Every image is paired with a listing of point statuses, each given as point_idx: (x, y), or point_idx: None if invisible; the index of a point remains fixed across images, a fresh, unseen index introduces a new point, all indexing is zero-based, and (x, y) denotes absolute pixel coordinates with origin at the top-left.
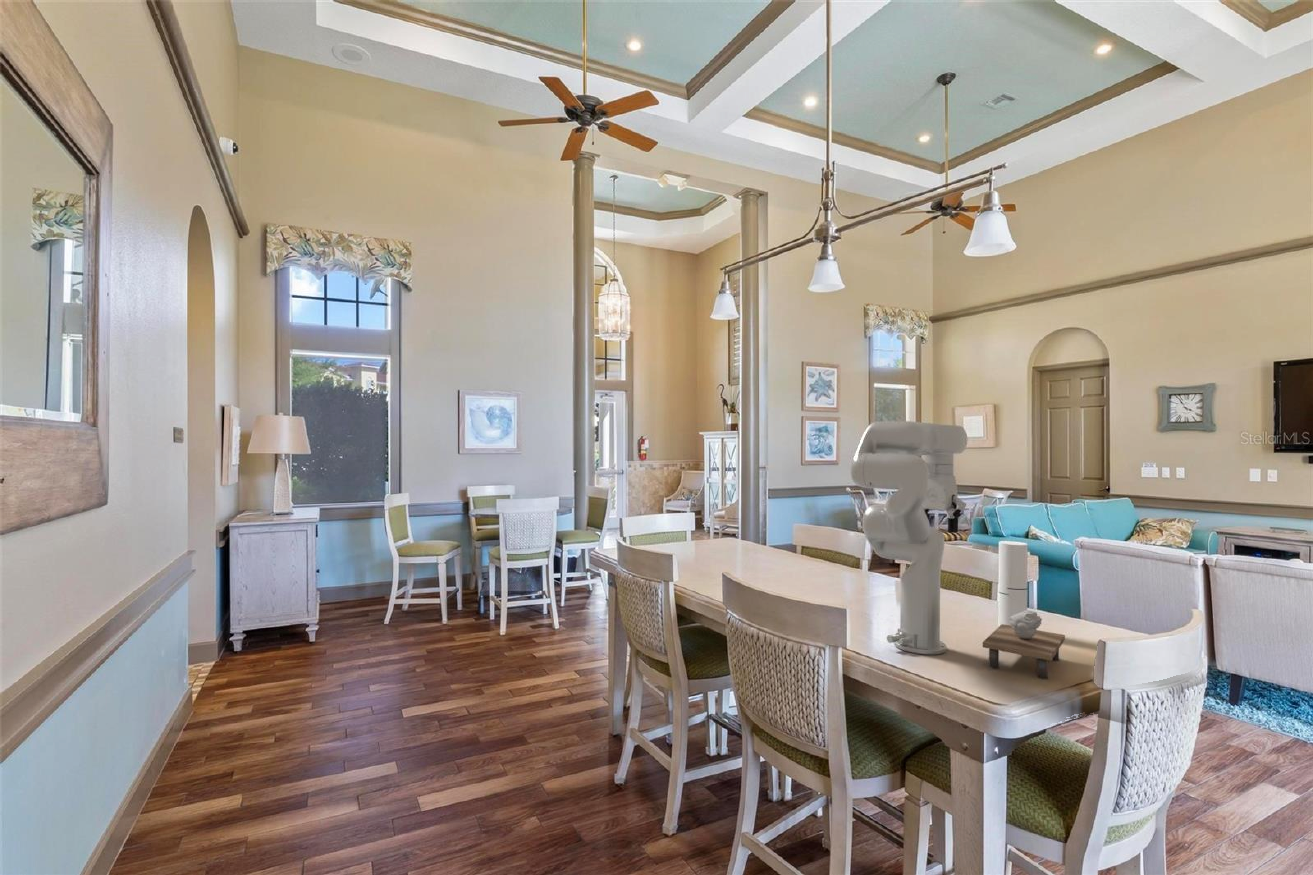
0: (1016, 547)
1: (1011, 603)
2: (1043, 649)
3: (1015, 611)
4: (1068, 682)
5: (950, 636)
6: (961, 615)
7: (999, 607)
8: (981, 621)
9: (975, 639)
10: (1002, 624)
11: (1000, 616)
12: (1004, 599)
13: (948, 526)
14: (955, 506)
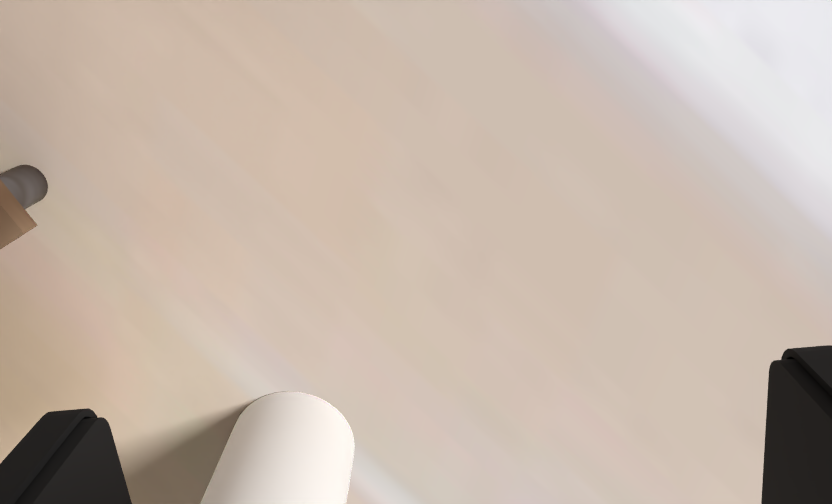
0: None
1: (211, 499)
2: None
3: (211, 483)
4: None
5: (296, 79)
6: (594, 428)
7: (296, 466)
8: (471, 437)
9: (219, 170)
10: (14, 229)
11: (294, 435)
12: (242, 498)
13: (20, 471)
14: None
